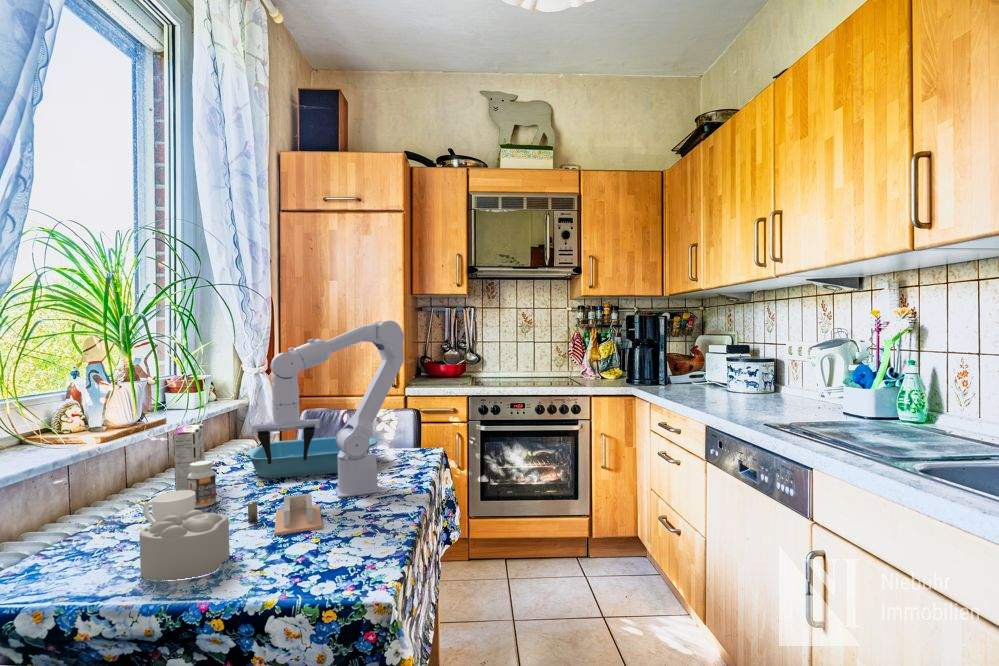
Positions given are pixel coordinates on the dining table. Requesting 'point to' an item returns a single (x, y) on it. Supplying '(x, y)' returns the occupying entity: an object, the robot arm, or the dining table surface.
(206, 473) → the pill bottle
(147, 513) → the cup
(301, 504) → the link
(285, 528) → the trivet
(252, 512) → the stand
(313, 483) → the dining table surface
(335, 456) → the casserole dish
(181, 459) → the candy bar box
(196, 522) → the lumpy-topped squat cylinder
